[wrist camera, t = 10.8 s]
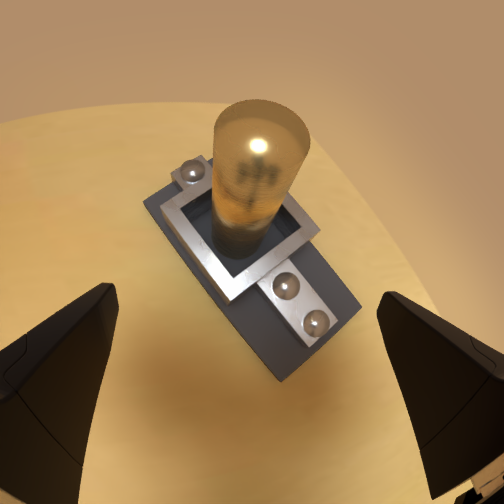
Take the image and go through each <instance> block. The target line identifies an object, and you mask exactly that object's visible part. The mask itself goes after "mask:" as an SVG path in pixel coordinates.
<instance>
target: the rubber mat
mask: <svg viewBox="0 0 504 504" xmlns="http://www.w3.org/2000/svg"><path fill="white" fill-rule="evenodd" d="M207 162H208V163H209V164H210V165H211V167H212V168H213V158H212V159H210V160H208V161H207ZM179 193H180V191H179V190H178V189H177V187H176V186H175V185H174V184H173V182H172V183H170V184H169V185H167V186H166V187H164V188H162V189H161V190H159V191H158V192H156V193H155V194H153V195H152V196H150V197H149V198H147V199H146V200H144V201H143V203H144V205H145V207H146V208H147V209H148V211H149V212H150V214H151V215H152V217H153V218H154V220H155V221H156V223H157V224H158V225H159V227H160V228H161V230H162V231H163V233H164V234H165V235H166V237H167V238H168V240H169V241H170V242H171V244H172V245H173V247H174V248H175V249H176V251H177V252H178V254H179V255H180V256H181V258H182V259H183V260H184V262H185V263H186V264H187V266H188V267H189V269H190V270H191V271H192V273H193V274H194V275H195V277H196V278H197V279H198V281H199V282H200V283H201V285H202V286H203V287H204V289H205V290H206V291H207V292H208V294H209V295H210V296H211V298H212V299H213V300H214V302H215V303H216V304H217V305H218V307H219V308H220V309H221V311H222V312H223V313H224V314H225V316H226V317H227V318H228V319H229V321H230V322H231V323H232V325H233V326H234V327H235V328H236V330H237V331H238V332H239V333H240V335H241V336H242V337H243V338H244V339H245V341H246V342H247V343H248V344H249V346H250V347H251V348H252V349H253V350H254V352H255V353H256V354H257V355H258V356H259V358H260V359H261V360H262V361H263V362H264V364H265V365H266V366H267V367H268V368H269V370H270V371H271V372H272V373H273V374H274V375H275V377H276V378H277V379H278V380H279V381H280V382H282V381H283V380H284V379H285V378H287V377H288V376H289V375H290V374H291V373H292V372H294V371H295V370H296V369H297V368H298V367H299V366H301V365H302V364H303V363H304V362H305V361H306V360H307V359H309V358H310V357H311V356H312V355H313V354H314V353H315V352H316V351H317V350H319V349H320V348H321V347H322V346H323V345H324V344H325V343H326V342H327V341H328V340H329V339H330V338H331V337H332V336H334V335H335V334H336V333H337V332H338V331H339V330H340V329H341V328H342V327H343V326H344V325H345V324H346V323H347V322H348V321H349V320H350V319H351V318H352V317H353V316H354V315H355V314H356V313H357V312H358V311H359V310H360V309H361V308H362V306H361V305H360V303H359V302H358V301H357V300H356V298H355V297H354V296H353V294H352V293H351V292H350V291H349V289H348V288H347V287H346V285H345V284H344V283H343V282H342V280H341V279H340V278H339V277H338V275H337V274H336V273H335V272H334V270H333V269H332V268H331V267H330V265H329V264H328V263H327V262H326V260H325V259H324V258H323V257H322V255H321V254H320V253H319V252H318V250H317V249H316V248H315V247H314V246H313V244H312V243H311V242H309V243H308V244H307V245H306V246H304V247H303V248H302V249H301V250H299V251H298V252H297V253H296V254H294V255H293V256H292V257H290V258H289V260H290V261H291V262H292V263H293V265H294V266H295V267H296V268H297V270H298V271H299V272H300V273H301V275H302V276H303V277H304V278H305V280H306V281H307V282H308V283H309V284H310V286H311V287H312V288H313V289H314V291H315V292H316V293H317V294H318V296H319V297H320V298H321V299H322V301H323V302H324V303H325V304H326V306H327V307H328V308H329V310H330V311H331V312H332V313H333V315H334V316H335V317H336V318H337V320H338V321H337V322H336V323H335V324H334V325H333V326H332V327H331V328H330V329H329V330H328V332H327V333H326V334H325V335H323V336H321V337H320V338H319V339H318V340H317V341H316V342H315V343H314V344H313V345H311V346H310V347H302V345H301V344H300V343H299V342H298V340H297V339H296V338H295V337H294V336H293V334H292V333H291V332H290V331H289V329H288V328H287V327H286V326H285V324H284V323H283V322H282V321H281V320H280V318H279V317H278V316H277V315H276V313H275V312H274V311H273V310H272V308H271V307H270V306H269V305H268V303H267V302H266V301H265V300H264V299H263V297H262V296H261V295H260V294H259V292H258V291H257V290H256V289H255V287H252V288H251V289H250V290H248V291H247V292H246V293H245V294H243V295H242V296H241V297H239V298H238V299H237V300H235V301H234V302H233V303H232V304H230V305H229V306H227V305H226V304H225V303H224V301H223V300H222V299H221V297H220V296H219V295H218V294H217V292H216V291H215V290H214V288H213V287H212V286H211V284H210V283H209V282H208V280H207V279H206V278H205V277H204V275H203V274H202V273H201V271H200V270H199V269H198V267H197V266H196V265H195V263H194V262H193V261H192V259H191V258H190V257H189V255H188V254H187V252H186V251H185V250H184V248H183V247H182V246H181V244H180V243H179V242H178V240H177V239H176V237H175V236H174V235H173V233H172V232H171V230H170V229H169V228H168V226H167V225H166V222H165V219H164V217H163V214H162V211H161V208H160V206H161V205H162V204H164V203H165V202H167V201H168V200H170V199H171V198H173V197H174V196H176V195H177V194H179ZM211 218H212V208H211V209H210V210H208V211H207V212H205V213H204V214H202V215H201V216H199V217H198V218H196V219H195V220H194V221H192V222H191V225H192V226H193V227H194V229H195V230H196V231H197V232H198V234H199V235H200V236H201V238H202V239H203V240H204V242H205V243H206V244H207V246H208V247H209V248H210V249H211V251H212V252H213V253H214V255H215V256H216V257H217V259H218V260H219V261H220V262H221V264H222V265H223V266H224V268H225V269H226V270H227V271H228V273H229V274H230V275H231V276H232V278H233V279H234V278H235V277H236V276H238V275H239V274H240V273H242V272H243V271H244V270H246V269H247V268H248V267H250V266H251V265H252V264H253V263H255V262H256V261H257V260H259V259H260V258H261V257H263V256H264V255H265V254H267V253H268V252H269V251H271V250H272V249H273V248H275V247H276V246H277V245H279V244H280V243H281V242H283V241H284V240H285V239H286V238H285V237H284V236H283V234H282V233H281V232H280V231H279V230H278V228H277V227H276V226H275V225H274V224H273V222H272V223H271V225H270V227H269V229H268V231H267V233H266V235H265V237H264V239H263V241H262V243H261V245H260V246H259V248H258V250H257V251H256V252H255V253H254V254H253V255H251V256H249V257H247V258H244V259H230V258H227V257H225V256H223V255H222V254H221V253H219V252H218V251H217V249H216V248H215V246H214V245H213V242H212V237H211Z"/></svg>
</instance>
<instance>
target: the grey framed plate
mask: <svg viewBox="0 0 504 504" xmlns="http://www.w3.org/2000/svg"><path fill="white" fill-rule="evenodd" d="M212 172H213V168H212V167H211V165H210V164H209V163H208V162H207V161H206V160H205V158H204V157H203V156H202V155H200V156H198V157H196V158H195V159H193V160H188V161H186V162H184V163H183V164H182V166H181V167H179V168H178V169H176V170H175V171H173V172H171V178H172V182H173V184H174V185H175V186H176V187H177V189H178V190H179V191H180V193H179V194H177V195H176V196H174V197H173V198H171V199H170V200H168V201H167V202H165V203H164V204H162V205H161V206H160V208H161V211H162V214H163V217H164V219H165V222H166V225H167V226H168V228H169V229H170V230H171V232H172V233H173V235H174V236H175V237H176V239H177V240H178V242H179V243H180V244H181V246H182V247H183V248H184V250H185V251H186V252H187V254H188V255H189V257H190V258H191V259H192V261H193V262H194V263H195V265H196V266H197V267H198V269H199V270H200V271H201V273H202V274H203V275H204V277H205V278H206V279H207V280H208V282H209V283H210V284H211V286H212V287H213V288H214V290H215V291H216V292H217V294H218V295H219V296H220V297H221V299H222V300H223V301H224V303H225V304H226V305H227V306H229V305H230V304H232V303H233V302H234V301H235V300H237V299H238V298H239V297H241V296H242V295H243V294H245V293H246V292H247V291H248V290H250V289H251V288H252V287H255V289H256V290H257V291H258V292H259V294H260V295H261V296H262V297H263V299H264V300H265V301H266V302H267V303H268V305H269V306H270V307H271V308H272V310H273V311H274V312H275V313H276V315H277V316H278V317H279V318H280V320H281V321H282V322H283V323H284V324H285V326H286V327H287V328H288V329H289V331H290V332H291V333H292V334H293V336H294V337H295V338H296V339H297V340H298V342H299V343H300V344H301V345H302V347H310V346H311V345H313V344H314V343H315V342H316V341H317V340H318V339H319V338H320V337H321V336H323V335H325V334H326V333H327V332H328V330H329V329H330V328H331V327H332V326H333V325H334V324H335V323H336V322H337V321H338V320H337V318H336V317H335V316H334V315H333V313H332V312H331V311H330V310H329V308H328V307H327V306H326V304H325V303H324V302H323V301H322V299H321V298H320V297H319V296H318V294H317V293H316V292H315V291H314V289H313V288H312V287H311V286H310V284H309V283H308V282H307V281H306V280H305V278H304V277H303V276H302V275H301V273H300V272H299V271H298V270H297V268H296V267H295V266H294V265H293V263H292V262H291V261H290V260H289V258H290V257H292V256H293V255H294V254H296V253H297V252H298V251H299V250H301V249H302V248H303V247H304V246H306V245H307V244H308V243H309V242H310V241H311V240H312V239H313V238H314V236H315V235H316V234H317V233H318V232H319V231H320V229H319V227H318V226H317V225H316V224H315V223H314V221H313V220H312V219H311V218H310V217H309V215H308V214H307V213H306V212H305V211H304V210H303V209H302V207H301V206H300V205H299V204H298V203H297V202H296V200H295V199H294V198H293V197H292V196H291V195H290V194H289V192H287V194H286V196H285V198H284V200H283V202H282V204H281V206H280V208H279V210H278V212H277V214H276V216H275V218H274V219H273V221H272V222H273V224H274V225H275V226H276V227H277V228H278V230H279V231H280V232H281V233H282V234H283V236H284V237H285V238H286V239H285V240H284V241H283V242H281V243H280V244H279V245H277V246H276V247H275V248H273V249H272V250H271V251H269V252H268V253H267V254H265V255H264V256H263V257H261V258H260V259H259V260H257V261H256V262H255V263H253V264H252V265H251V266H250V267H248V268H247V269H246V270H244V271H243V272H242V273H240V274H239V275H238V276H236V277H235V278H234V279H233V278H232V276H231V275H230V274H229V273H228V271H227V270H226V269H225V268H224V266H223V265H222V264H221V262H220V261H219V260H218V259H217V257H216V256H215V255H214V253H213V252H212V251H211V249H210V248H209V247H208V246H207V244H206V243H205V242H204V240H203V239H202V238H201V236H200V235H199V234H198V232H197V231H196V230H195V229H194V227H193V226H192V225H191V222H192V221H194V220H195V219H196V218H198V217H199V216H201V215H202V214H204V213H205V212H207V211H208V210H210V209H211V208H212Z"/></svg>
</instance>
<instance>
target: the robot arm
mask: <svg viewBox="0 0 504 504" xmlns="http://www.w3.org/2000/svg"><path fill="white" fill-rule="evenodd" d="M118 311H119V304H118V299H117V294H116V288H115V286H114V284H113V283H100V284H99V285H97V286H96V287H94V288H93V289H91V290H89V291H88V292H86V293H85V294H83V295H82V296H80V297H79V298H77V299H76V300H74V301H73V302H71V303H70V304H68V305H67V306H65V307H63V308H62V309H61V310H59V311H58V312H56V313H55V314H53V315H52V316H50V317H49V318H47V319H46V320H44V321H43V322H41V323H40V324H38V325H37V326H36V327H34V328H33V329H31V330H30V331H28V332H27V334H24V335H23V336H21V337H20V338H19V339H17V340H16V341H14V342H13V343H11V344H10V345H8V346H7V347H6V348H4V349H2V350H1V351H0V504H78V498H79V490H80V483H81V477H82V470H83V468H82V467H83V463H84V458H85V452H86V447H87V442H88V437H89V432H90V428H91V423H92V419H93V415H94V410H95V406H96V402H97V398H98V394H99V390H100V387H101V383H102V379H103V376H104V372H105V369H106V365H107V362H108V358H109V355H110V351H111V346H112V341H113V336H114V331H115V326H116V321H117V316H118ZM377 319H378V322H379V326H380V329H381V333H382V336H383V340H384V344H385V347H386V351H387V353H388V356H389V359H390V362H391V364H392V367H393V370H394V373H395V375H396V378H397V381H398V384H399V387H400V389H401V392H402V395H403V398H404V401H405V404H406V407H407V410H408V414H409V417H410V420H411V423H412V426H413V430H414V433H415V436H416V440H417V443H418V447H419V450H420V455H421V458H422V462H423V466H424V470H425V474H426V478H427V482H428V486H429V491H430V495H431V498H432V500H434V499H436V498H438V497H440V496H442V495H444V494H445V493H447V492H449V491H451V490H453V489H454V488H456V487H458V486H460V485H461V484H463V483H465V482H466V481H468V480H470V479H471V482H472V484H473V486H474V487H473V488H471V489H470V490H468V491H467V492H465V493H463V494H462V495H460V496H458V497H457V498H456V500H455V503H454V504H504V354H502V353H500V352H498V351H496V350H494V349H493V348H491V347H489V346H487V345H486V344H484V343H482V342H481V341H479V340H477V339H475V338H474V337H472V336H471V335H469V334H467V333H466V332H464V331H462V330H461V329H459V328H457V327H456V326H454V325H452V324H451V323H449V322H447V321H446V320H444V319H442V318H441V317H439V316H437V315H436V314H434V313H432V312H430V311H429V310H427V309H425V308H424V307H422V306H420V305H418V304H417V303H415V302H413V301H411V300H410V299H408V298H406V297H404V296H403V295H401V294H399V293H397V292H395V291H387V292H385V293H384V294H383V296H382V299H381V301H380V304H379V306H378V309H377Z"/></svg>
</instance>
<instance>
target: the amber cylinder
mask: <svg viewBox="0 0 504 504" xmlns="http://www.w3.org/2000/svg"><path fill="white" fill-rule="evenodd" d="M309 148H310V135H309V132H308V129H307V127H306V125H305V124H304V122H303V121H302V120H301V118H300V117H299V116H298V115H296V114H295V113H294V112H293V111H291V110H290V109H288V108H287V107H284V106H282V105H281V104H278V103H275V102H271V101H267V100H245V101H241V102H238V103H235V104H233V105H231V106H229V107H228V108H226V109H225V110H224V111H223V112H222V113H221V114H220V115H219V117H218V118H217V120H216V123H215V126H214V143H213V172H212V218H211V237H212V242H213V245H214V246H215V248H216V249H217V251H218V252H219V253H221V254H222V255H223V256H225V257H227V258H230V259H244V258H247V257H249V256H251V255H253V254H254V253H255V252H256V251H257V250H258V248H259V246H260V245H261V243H262V241H263V239H264V237H265V235H266V233H267V231H268V229H269V227H270V225H271V223H272V221H273V219H274V218H275V216H276V214H277V212H278V210H279V208H280V206H281V204H282V202H283V200H284V198H285V196H286V194H287V192H288V190H289V189H290V187H291V185H292V183H293V181H294V179H295V177H296V175H297V173H298V171H299V169H300V167H301V165H302V163H303V161H304V159H305V158H306V156H307V154H308V151H309Z"/></svg>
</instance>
